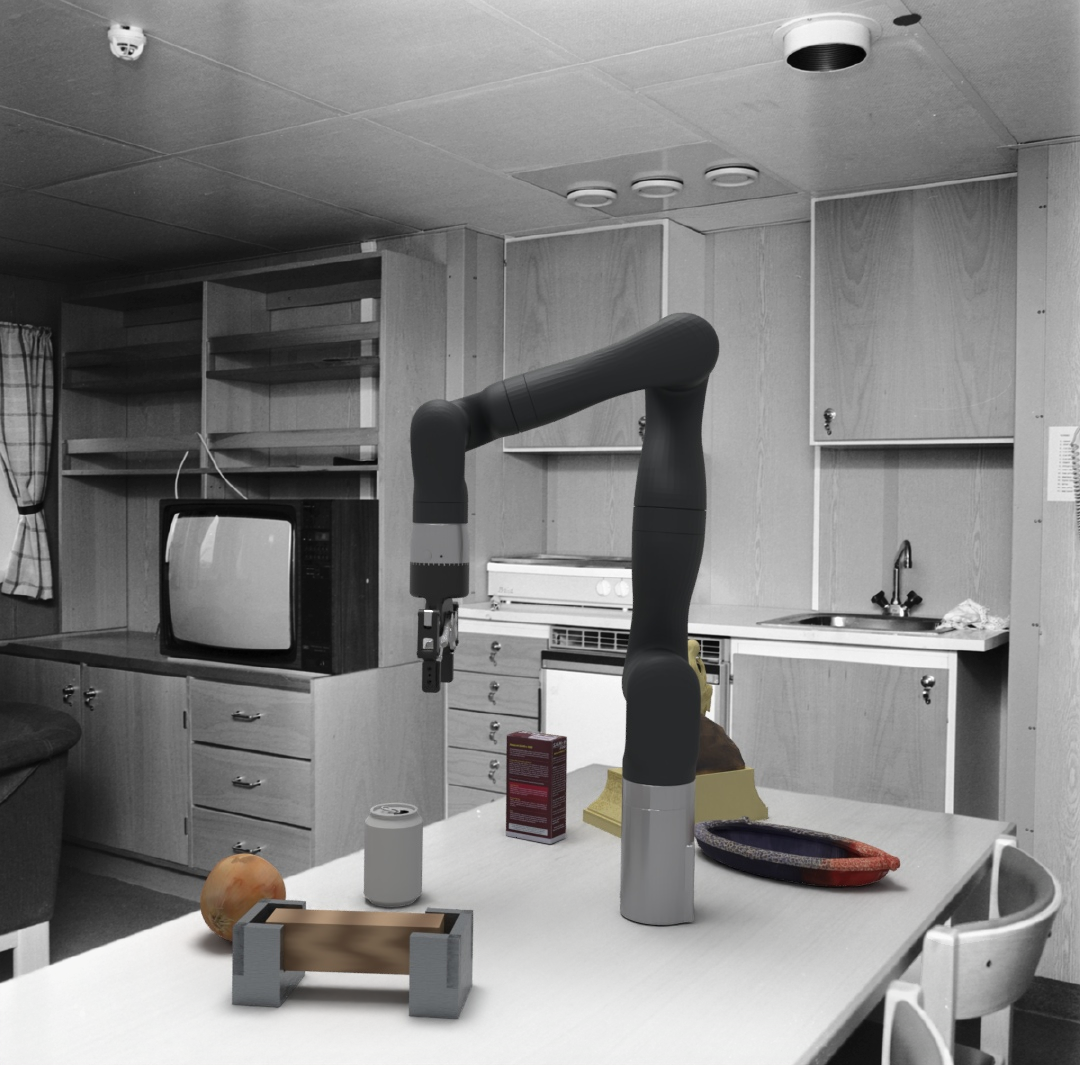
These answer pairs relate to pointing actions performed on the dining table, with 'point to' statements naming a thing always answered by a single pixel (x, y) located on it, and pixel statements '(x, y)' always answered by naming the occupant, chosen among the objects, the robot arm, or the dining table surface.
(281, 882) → the onion
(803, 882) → the dish
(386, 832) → the can
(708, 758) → the decorative clock
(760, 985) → the dining table surface
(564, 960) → the dining table surface
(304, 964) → the rail
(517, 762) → the supplement box
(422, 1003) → the cup brackets
